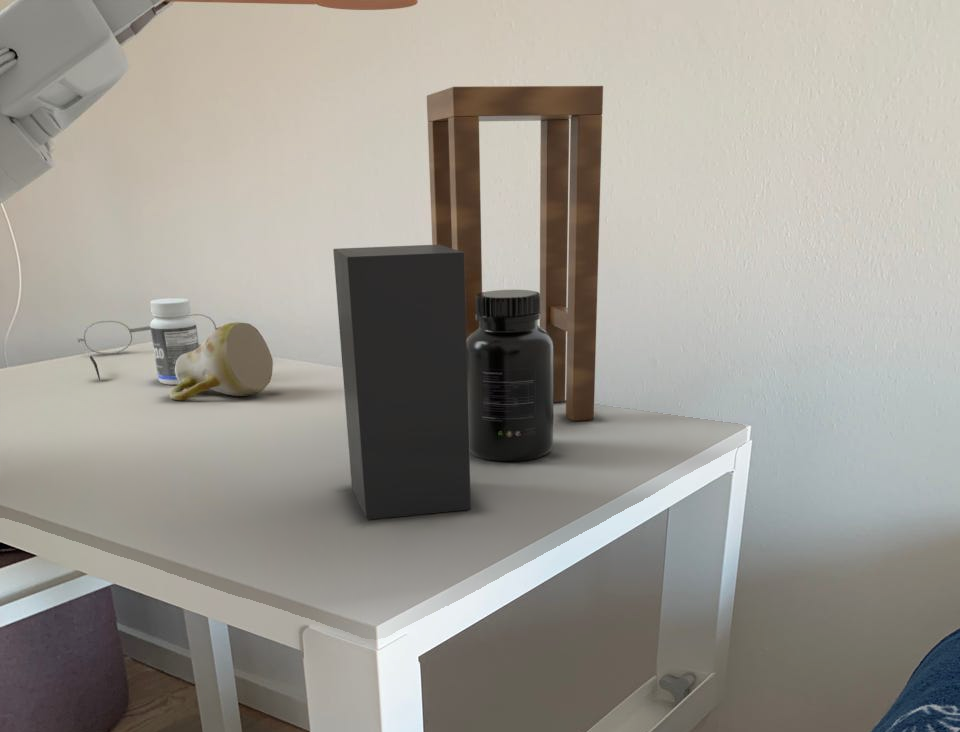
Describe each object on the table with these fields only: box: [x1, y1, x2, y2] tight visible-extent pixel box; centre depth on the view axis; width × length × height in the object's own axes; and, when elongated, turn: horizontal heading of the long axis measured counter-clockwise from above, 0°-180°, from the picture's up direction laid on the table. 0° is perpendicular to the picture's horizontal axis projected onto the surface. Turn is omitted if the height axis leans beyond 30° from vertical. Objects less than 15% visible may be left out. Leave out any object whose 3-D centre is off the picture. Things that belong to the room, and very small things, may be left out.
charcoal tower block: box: [333, 244, 472, 521], centre depth 65 cm, size 7×7×16 cm
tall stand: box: [426, 85, 604, 422], centre depth 86 cm, size 12×10×26 cm
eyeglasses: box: [76, 313, 220, 381], centre depth 120 cm, size 18×19×4 cm
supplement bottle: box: [466, 289, 554, 462], centre depth 77 cm, size 7×7×12 cm
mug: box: [169, 321, 274, 401], centre depth 101 cm, size 8×10×10 cm
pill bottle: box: [149, 297, 200, 386], centre depth 107 cm, size 5×5×8 cm
